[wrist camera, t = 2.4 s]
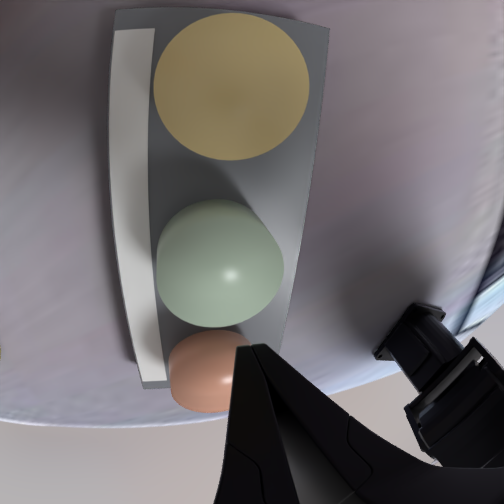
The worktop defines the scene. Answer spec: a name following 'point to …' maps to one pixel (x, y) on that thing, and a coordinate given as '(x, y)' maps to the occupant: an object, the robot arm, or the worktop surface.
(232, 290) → the sage button
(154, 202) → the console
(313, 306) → the worktop surface
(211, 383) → the terracotta button
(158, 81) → the ochre button
